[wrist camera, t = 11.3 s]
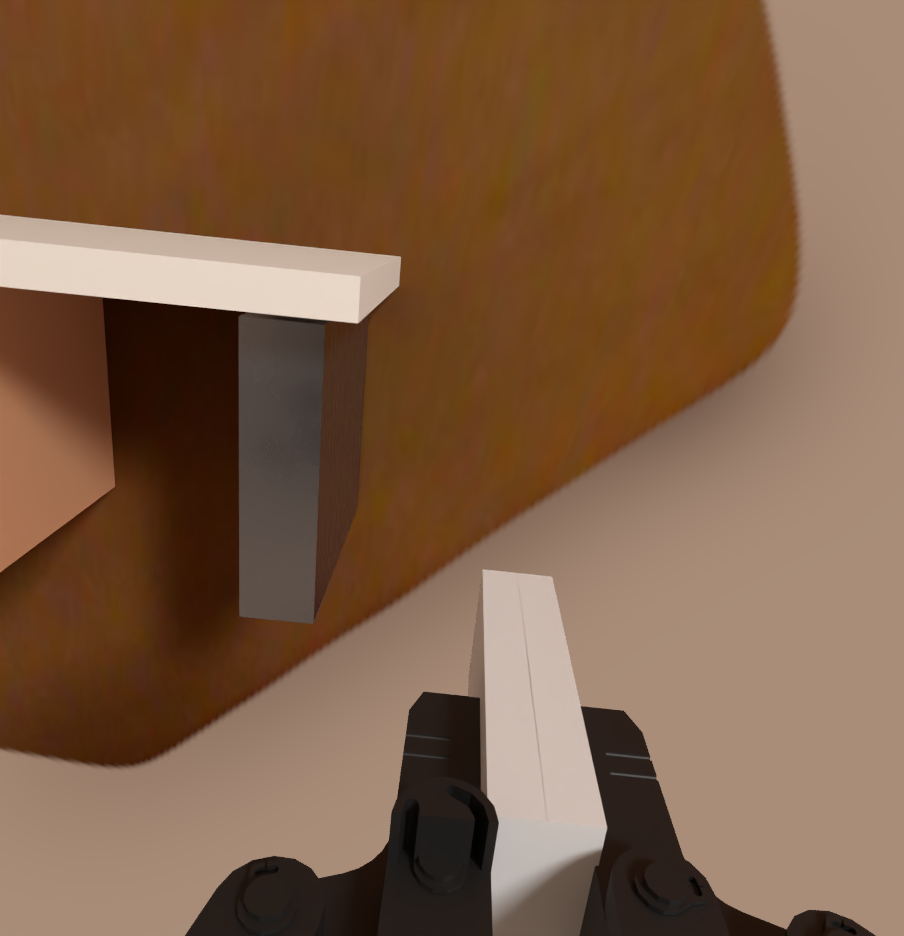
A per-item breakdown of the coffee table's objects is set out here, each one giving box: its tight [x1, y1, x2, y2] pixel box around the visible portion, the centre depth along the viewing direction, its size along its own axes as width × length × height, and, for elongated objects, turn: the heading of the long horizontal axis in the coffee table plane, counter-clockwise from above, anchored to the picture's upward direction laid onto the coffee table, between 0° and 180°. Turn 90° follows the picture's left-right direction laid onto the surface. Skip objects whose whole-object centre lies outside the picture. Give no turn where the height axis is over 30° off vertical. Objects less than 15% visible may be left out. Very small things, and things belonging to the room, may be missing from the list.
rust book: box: [0, 287, 115, 572], centre depth 27 cm, size 4×10×9 cm, turn 174°
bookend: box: [239, 312, 369, 624], centre depth 26 cm, size 2×10×10 cm, turn 174°
